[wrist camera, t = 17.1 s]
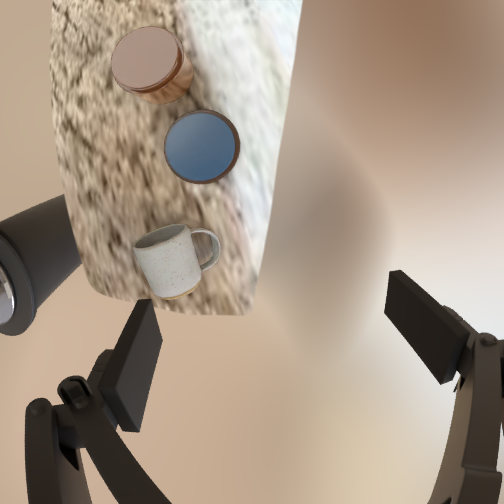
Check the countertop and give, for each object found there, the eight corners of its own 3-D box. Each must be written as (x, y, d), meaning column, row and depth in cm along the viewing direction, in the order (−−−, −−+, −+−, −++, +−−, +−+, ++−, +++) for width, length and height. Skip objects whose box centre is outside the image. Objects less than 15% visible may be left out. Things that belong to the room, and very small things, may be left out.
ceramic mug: (160, 283, 44) (150, 310, 36) (140, 233, 41) (124, 252, 34) (227, 264, 44) (229, 288, 36) (210, 211, 41) (207, 225, 33)
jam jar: (126, 94, 34) (95, 80, 24) (151, 43, 31) (129, 16, 22) (177, 112, 35) (159, 102, 26) (203, 60, 33) (196, 34, 23)
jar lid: (210, 191, 39) (209, 193, 38) (156, 157, 37) (153, 158, 35) (247, 137, 37) (248, 137, 35) (192, 102, 35) (190, 100, 33)
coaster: (153, 167, 38) (152, 167, 37) (183, 99, 35) (183, 98, 35) (220, 195, 40) (220, 195, 40) (252, 128, 37) (252, 128, 37)
